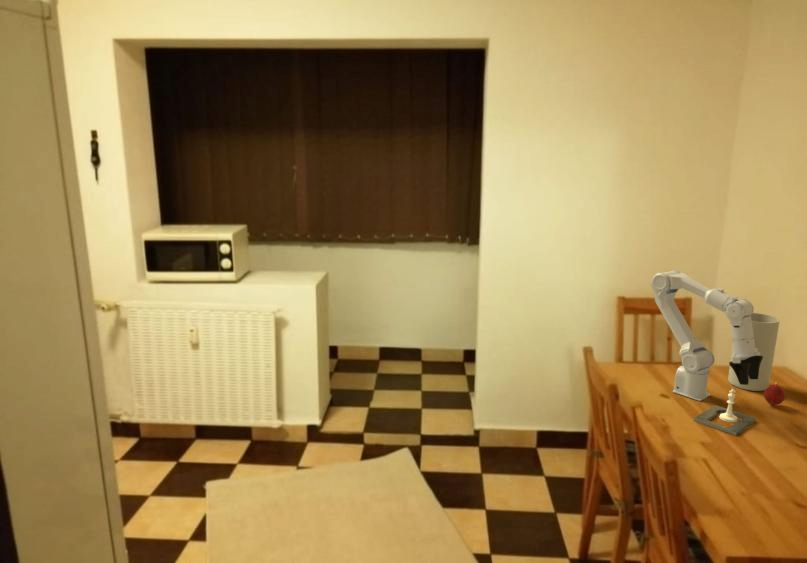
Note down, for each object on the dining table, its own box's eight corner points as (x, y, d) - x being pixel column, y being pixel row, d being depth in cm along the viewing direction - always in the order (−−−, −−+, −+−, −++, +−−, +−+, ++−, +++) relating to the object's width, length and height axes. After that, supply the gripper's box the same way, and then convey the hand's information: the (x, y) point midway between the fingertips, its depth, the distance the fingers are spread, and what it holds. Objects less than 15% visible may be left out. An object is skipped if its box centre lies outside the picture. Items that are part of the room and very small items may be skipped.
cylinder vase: (763, 380, 203) (773, 314, 198) (772, 394, 192) (784, 324, 186) (724, 375, 207) (733, 311, 202) (731, 389, 196) (741, 320, 190)
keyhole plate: (714, 407, 181) (715, 404, 181) (755, 421, 172) (756, 418, 172) (694, 420, 173) (694, 417, 172) (735, 435, 163) (736, 432, 163)
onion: (786, 410, 180) (790, 387, 178) (766, 408, 181) (770, 385, 179) (778, 402, 185) (782, 380, 184) (759, 400, 187) (763, 378, 185)
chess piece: (715, 415, 176) (720, 386, 174) (730, 414, 177) (735, 385, 174) (725, 422, 171) (730, 392, 169) (741, 422, 172) (745, 392, 170)
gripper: (747, 342, 167) (753, 387, 167) (766, 334, 176) (772, 377, 176) (722, 342, 173) (728, 386, 173) (742, 334, 182) (747, 376, 182)
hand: (749, 381), depth 175 cm, fingers open, 7 cm apart
